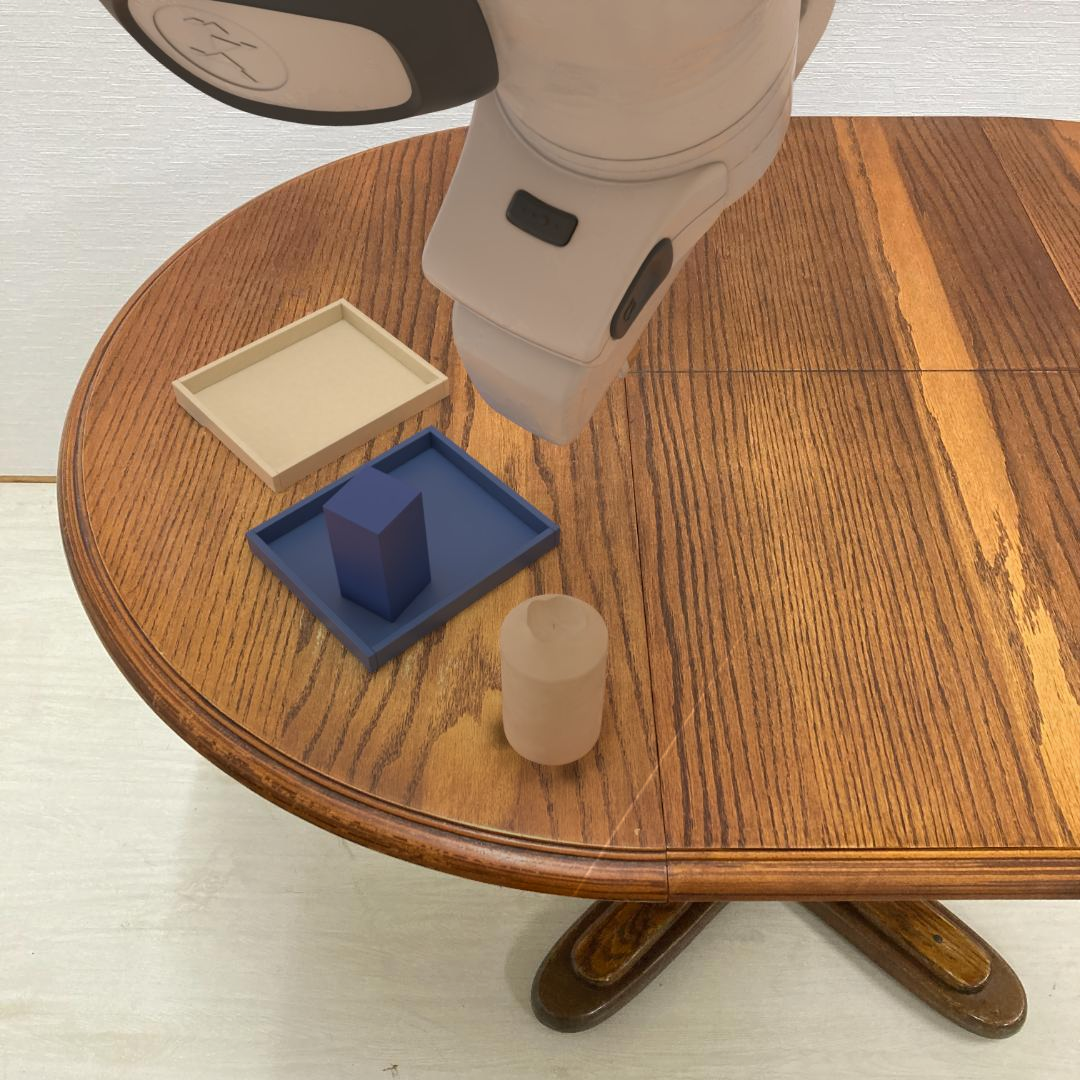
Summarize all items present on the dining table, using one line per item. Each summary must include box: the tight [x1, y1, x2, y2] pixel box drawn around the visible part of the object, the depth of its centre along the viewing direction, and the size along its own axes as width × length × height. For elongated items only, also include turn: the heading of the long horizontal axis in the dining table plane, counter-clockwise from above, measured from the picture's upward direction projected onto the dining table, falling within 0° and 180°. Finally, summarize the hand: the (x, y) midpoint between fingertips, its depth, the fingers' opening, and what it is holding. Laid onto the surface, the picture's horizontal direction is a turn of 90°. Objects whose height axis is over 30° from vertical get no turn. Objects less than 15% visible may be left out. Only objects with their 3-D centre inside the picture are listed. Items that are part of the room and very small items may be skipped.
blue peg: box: [323, 465, 431, 623], centre depth 66 cm, size 4×4×8 cm
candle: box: [499, 593, 609, 766], centre depth 59 cm, size 6×6×10 cm
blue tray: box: [244, 424, 561, 674], centre depth 70 cm, size 15×13×2 cm
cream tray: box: [171, 297, 451, 494], centre depth 80 cm, size 15×13×2 cm
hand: (672, 263), depth 47 cm, fingers open, 8 cm apart
